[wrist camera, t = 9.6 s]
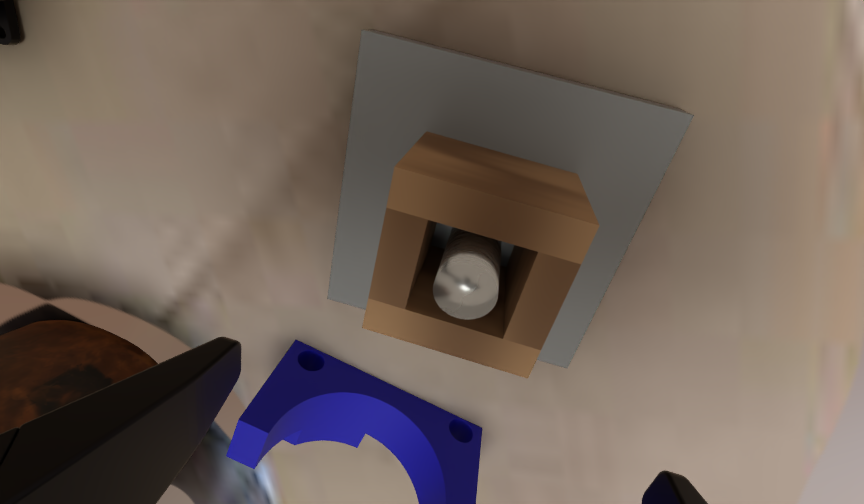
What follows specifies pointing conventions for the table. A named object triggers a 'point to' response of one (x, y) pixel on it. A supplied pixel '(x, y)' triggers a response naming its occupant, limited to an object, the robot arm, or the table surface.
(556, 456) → the table surface
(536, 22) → the table surface
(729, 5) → the table surface
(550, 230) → the wooden hollow block
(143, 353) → the brown pot
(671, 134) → the post stand
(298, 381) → the blue curved bracket
